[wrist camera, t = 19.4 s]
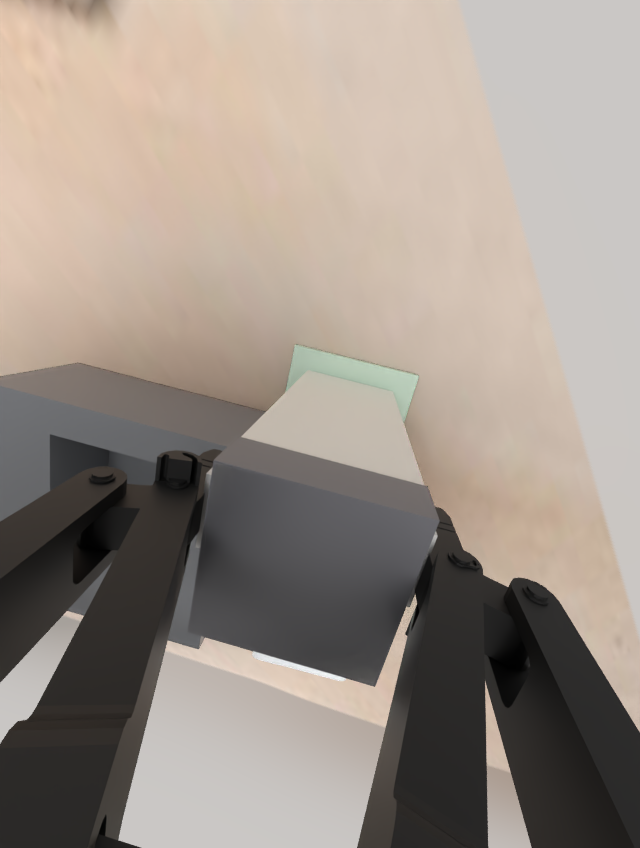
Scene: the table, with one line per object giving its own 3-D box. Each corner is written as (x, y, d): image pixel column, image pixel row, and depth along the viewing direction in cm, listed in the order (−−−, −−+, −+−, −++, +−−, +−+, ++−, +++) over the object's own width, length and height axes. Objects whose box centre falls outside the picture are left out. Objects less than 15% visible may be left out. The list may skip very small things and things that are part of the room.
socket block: (74, 527, 30) (-416, 889, 11) (78, 362, 26) (-706, 500, 7) (236, 573, 30) (3, 1039, 11) (267, 412, 25) (-29, 712, 6)
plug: (289, 449, 25) (187, 632, 11) (307, 369, 23) (213, 459, 9) (369, 470, 25) (374, 686, 10) (393, 391, 23) (439, 520, 9)
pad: (273, 455, 26) (271, 458, 26) (296, 344, 24) (295, 345, 23) (382, 484, 26) (383, 487, 25) (417, 374, 23) (419, 376, 23)
